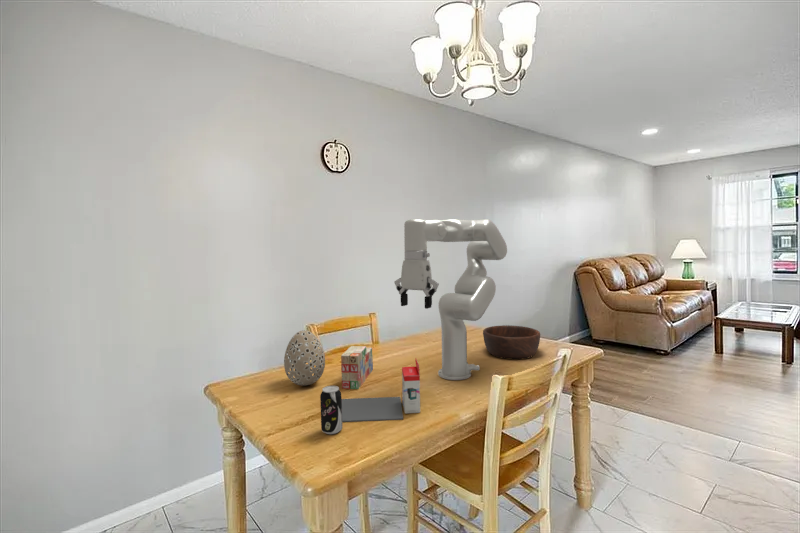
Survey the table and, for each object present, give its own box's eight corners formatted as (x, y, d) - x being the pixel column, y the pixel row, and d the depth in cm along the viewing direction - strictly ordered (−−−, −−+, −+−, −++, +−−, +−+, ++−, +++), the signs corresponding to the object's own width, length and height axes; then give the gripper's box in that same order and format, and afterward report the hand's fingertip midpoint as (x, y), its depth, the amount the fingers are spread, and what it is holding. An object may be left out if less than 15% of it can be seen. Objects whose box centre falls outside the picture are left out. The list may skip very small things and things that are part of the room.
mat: (400, 397, 131) (400, 396, 131) (403, 419, 115) (403, 418, 115) (339, 400, 130) (339, 399, 130) (334, 422, 114) (334, 421, 114)
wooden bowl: (473, 349, 188) (473, 327, 187) (518, 344, 195) (518, 323, 195) (502, 364, 164) (502, 340, 163) (552, 358, 171) (552, 334, 171)
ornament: (300, 375, 155) (298, 325, 153) (333, 379, 149) (331, 327, 148) (276, 389, 141) (274, 333, 140) (311, 394, 136) (309, 336, 134)
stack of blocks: (358, 369, 161) (357, 339, 161) (373, 370, 160) (372, 340, 159) (341, 388, 140) (340, 354, 140) (358, 389, 139) (357, 355, 138)
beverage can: (345, 432, 108) (344, 389, 107) (326, 438, 105) (324, 394, 104) (337, 424, 113) (336, 383, 112) (318, 429, 110) (316, 387, 109)
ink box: (402, 402, 127) (401, 357, 126) (417, 401, 128) (416, 357, 127) (404, 414, 119) (403, 366, 118) (420, 413, 119) (420, 365, 118)
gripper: (443, 256, 131) (443, 307, 132) (401, 255, 141) (401, 303, 142) (431, 256, 125) (431, 310, 126) (388, 256, 135) (389, 306, 136)
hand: (415, 306), depth 134 cm, fingers open, 9 cm apart
